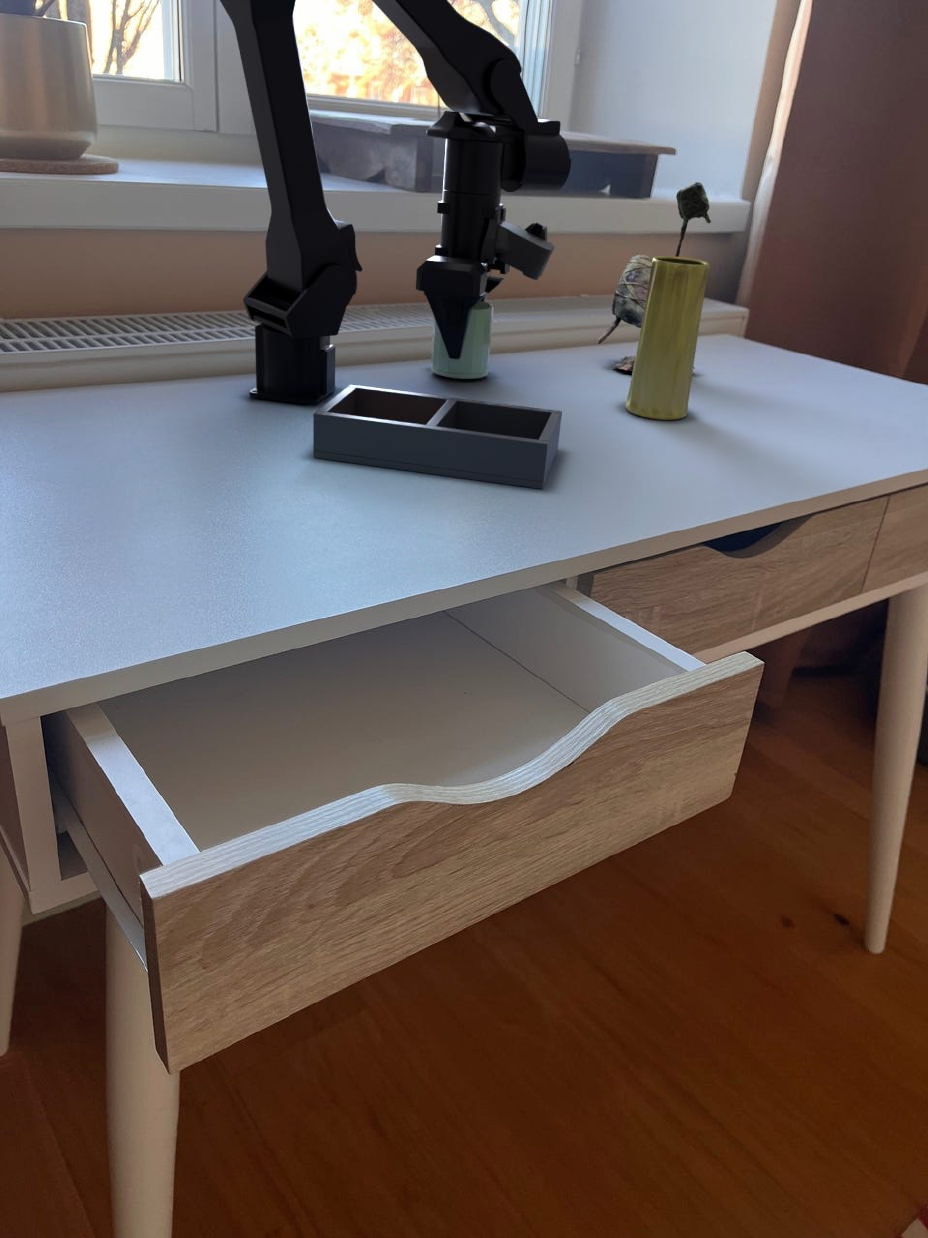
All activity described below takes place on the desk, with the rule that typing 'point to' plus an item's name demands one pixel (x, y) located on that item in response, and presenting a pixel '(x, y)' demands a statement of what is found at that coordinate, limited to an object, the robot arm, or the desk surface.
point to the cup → (466, 347)
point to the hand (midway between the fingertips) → (460, 352)
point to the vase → (668, 338)
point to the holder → (438, 435)
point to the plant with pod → (637, 272)
